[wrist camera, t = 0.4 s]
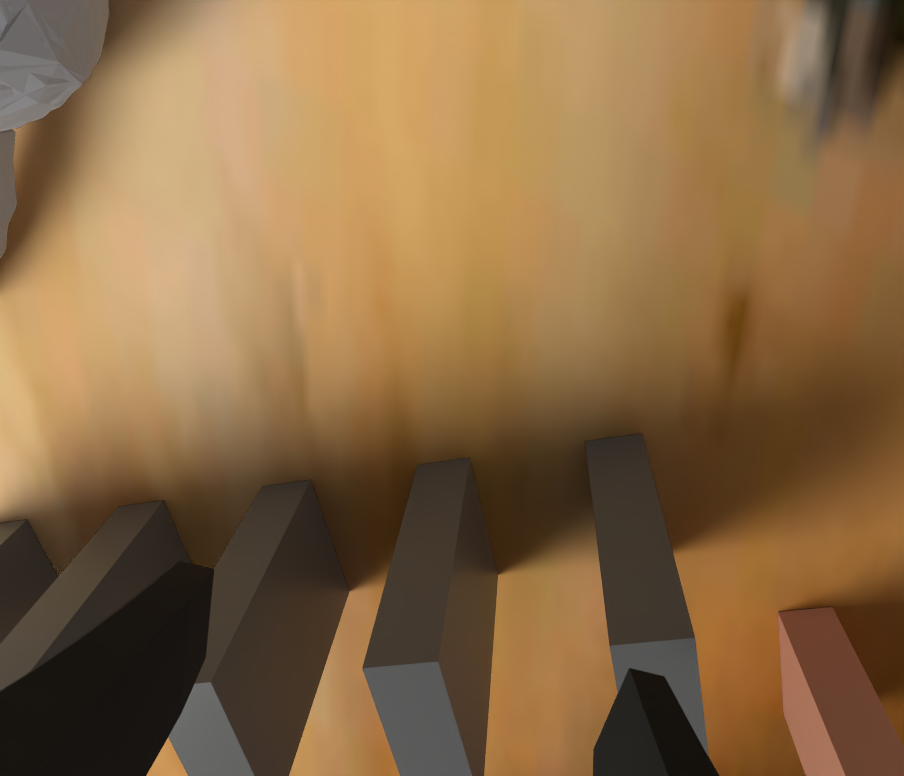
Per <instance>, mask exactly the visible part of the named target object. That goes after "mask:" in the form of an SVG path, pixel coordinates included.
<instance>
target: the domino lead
mask: <svg viewBox="0 0 904 776" xmlns="http://www.w3.org/2000/svg"><path fill="white" fill-rule="evenodd" d="M778 622H779V641H780V659H781V678H782V696H783V713H784V716H785V719H786V722H787V724H788V727H789V730H790V733H791V735H792V738H793V741H794V744H795V747H796V749H797V752H798V755H799V758H800V760H801V763H802V766H803V769H804V772H805V774H806V776H904V747H903V745H902V743H901V741H900V739H899V737H898V735H897V733H896V731H895V729H894V727H893V725H892V723H891V721H890V719H889V717H888V715H887V713H886V711H885V709H884V707H883V705H882V703H881V701H880V700H879V698H878V696H877V694H876V692H875V690H874V688H873V686H872V684H871V682H870V680H869V678H868V676H867V674H866V672H865V670H864V668H863V666H862V664H861V662H860V660H859V658H858V656H857V654H856V652H855V650H854V648H853V646H852V644H851V643H850V641H849V639H848V637H847V635H846V633H845V631H844V629H843V627H842V625H841V623H840V621H839V619H838V617H837V615H836V613H835V611H834V609H833V607H825V608H815V609H804V610H794V611H783V612H778Z"/></svg>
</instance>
